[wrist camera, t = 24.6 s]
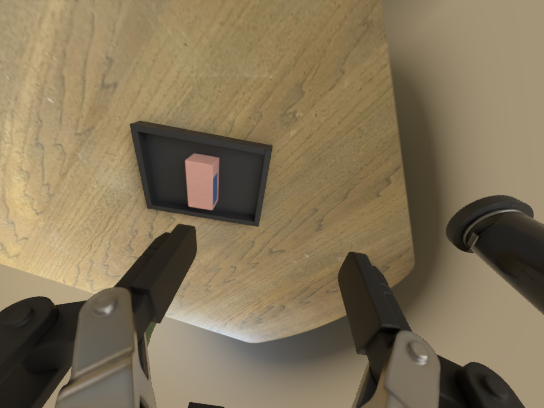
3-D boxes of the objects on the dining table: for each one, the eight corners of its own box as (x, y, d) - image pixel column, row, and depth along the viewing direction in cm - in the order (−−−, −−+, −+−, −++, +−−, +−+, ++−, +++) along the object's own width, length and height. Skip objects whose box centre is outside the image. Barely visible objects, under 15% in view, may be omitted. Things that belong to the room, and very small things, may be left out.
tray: (272, 145, 26) (271, 150, 24) (259, 219, 33) (258, 226, 31) (140, 120, 25) (129, 123, 24) (154, 201, 32) (147, 208, 30)
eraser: (219, 157, 27) (213, 165, 24) (218, 200, 31) (212, 210, 28) (193, 152, 27) (184, 160, 24) (195, 196, 30) (187, 206, 28)
